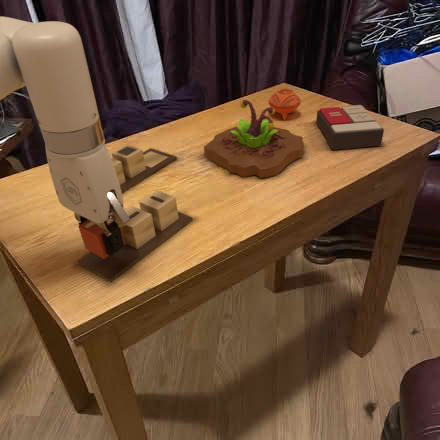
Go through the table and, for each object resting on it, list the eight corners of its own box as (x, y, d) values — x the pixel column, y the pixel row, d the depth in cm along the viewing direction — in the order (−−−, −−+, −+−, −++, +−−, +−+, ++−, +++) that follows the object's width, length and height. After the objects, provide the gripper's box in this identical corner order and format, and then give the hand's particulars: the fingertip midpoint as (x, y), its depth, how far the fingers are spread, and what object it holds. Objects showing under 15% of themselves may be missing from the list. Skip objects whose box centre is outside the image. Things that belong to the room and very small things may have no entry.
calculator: (362, 103, 102) (385, 126, 90) (359, 121, 104) (381, 146, 93) (317, 106, 101) (334, 130, 90) (315, 125, 104) (331, 150, 93)
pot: (261, 118, 107) (264, 88, 103) (274, 114, 112) (277, 86, 109) (291, 122, 103) (295, 91, 100) (303, 118, 109) (307, 89, 106)
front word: (78, 264, 70) (68, 238, 67) (160, 206, 81) (156, 182, 78) (110, 282, 67) (102, 256, 63) (192, 220, 77) (189, 195, 74)
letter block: (85, 248, 69) (77, 225, 65) (106, 234, 71) (100, 211, 68) (104, 259, 67) (97, 235, 63) (125, 244, 69) (119, 221, 66)
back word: (83, 189, 87) (75, 166, 84) (151, 150, 98) (147, 128, 95) (109, 201, 84) (103, 177, 80) (177, 159, 94) (173, 136, 91)
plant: (247, 126, 104) (246, 77, 96) (316, 147, 95) (322, 95, 87) (190, 158, 94) (185, 107, 86) (261, 186, 84) (262, 130, 77)
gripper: (11, 129, 57) (53, 238, 70) (94, 163, 50) (124, 278, 63) (56, 110, 62) (88, 216, 74) (139, 139, 54) (159, 251, 67)
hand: (104, 243), depth 68 cm, fingers closed on letter block, 4 cm apart
